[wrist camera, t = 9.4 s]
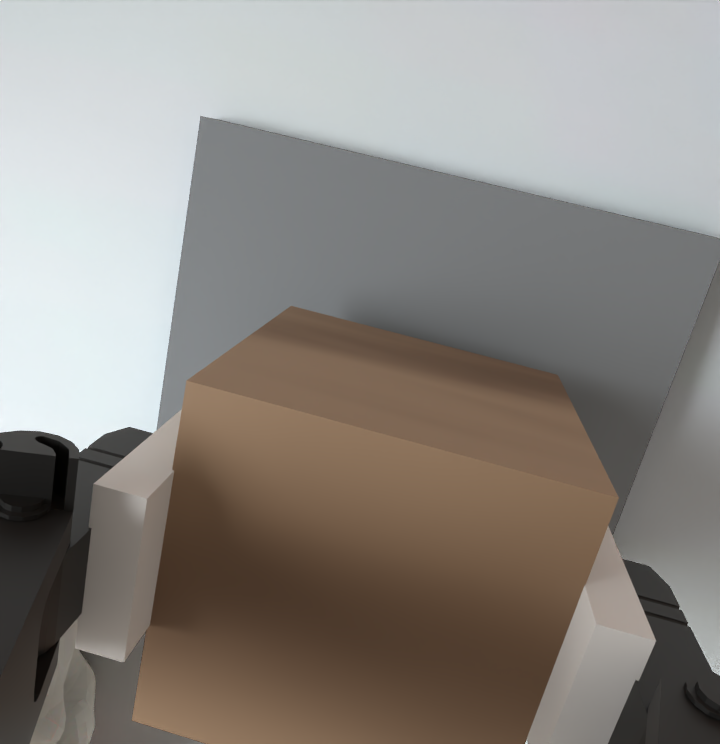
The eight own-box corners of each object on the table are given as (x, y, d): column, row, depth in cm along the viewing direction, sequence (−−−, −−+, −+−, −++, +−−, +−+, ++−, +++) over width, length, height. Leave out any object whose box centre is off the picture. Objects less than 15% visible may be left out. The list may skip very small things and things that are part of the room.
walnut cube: (290, 305, 15) (186, 380, 9) (557, 374, 15) (618, 497, 9) (244, 538, 17) (131, 720, 11) (480, 605, 16) (490, 832, 11)
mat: (212, 118, 16) (200, 116, 16) (714, 237, 15) (727, 240, 15) (150, 544, 20) (138, 558, 19) (553, 656, 19) (557, 677, 18)
